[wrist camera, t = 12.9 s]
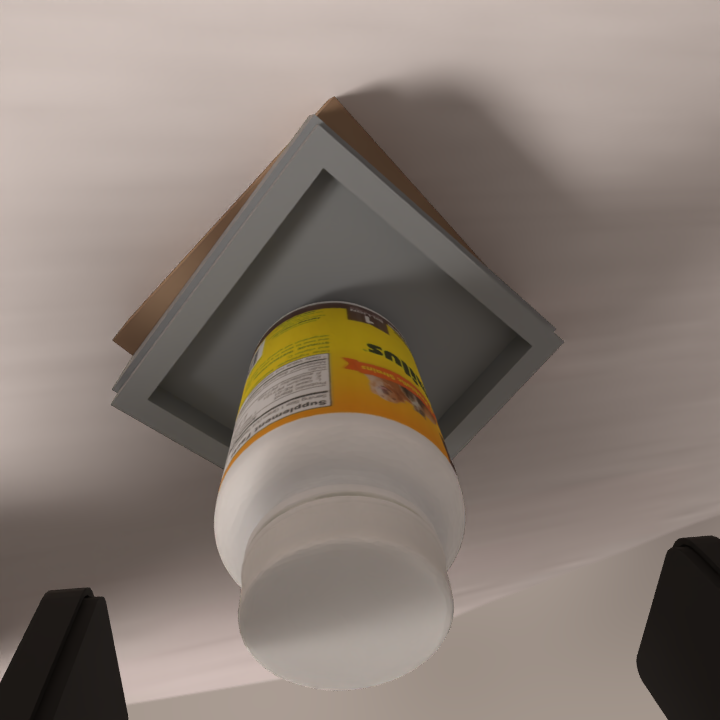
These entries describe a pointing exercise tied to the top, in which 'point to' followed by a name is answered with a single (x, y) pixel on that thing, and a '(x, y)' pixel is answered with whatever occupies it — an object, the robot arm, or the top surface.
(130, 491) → the top surface
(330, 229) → the tower top
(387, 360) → the supplement bottle
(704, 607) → the robot arm
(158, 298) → the tower base
